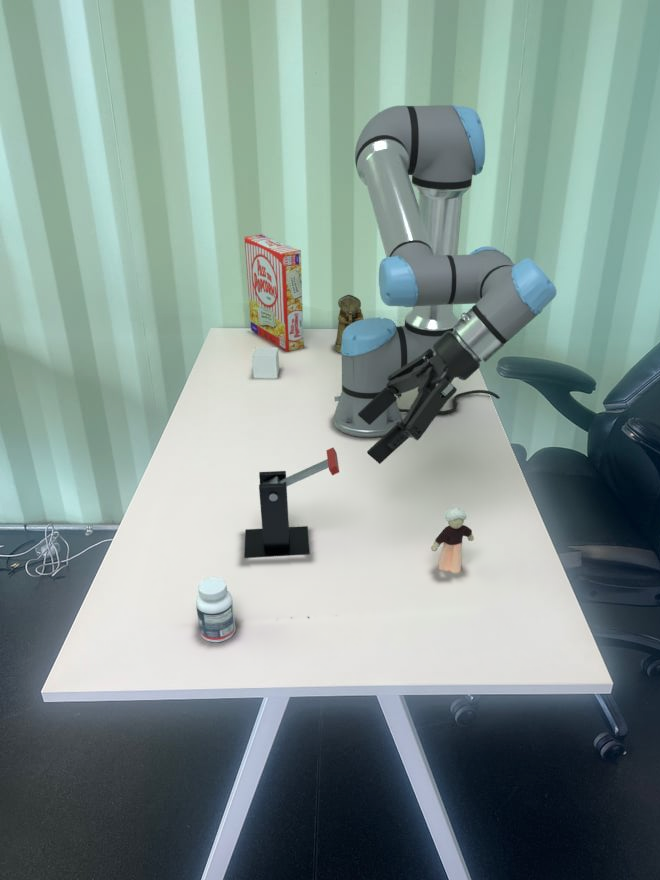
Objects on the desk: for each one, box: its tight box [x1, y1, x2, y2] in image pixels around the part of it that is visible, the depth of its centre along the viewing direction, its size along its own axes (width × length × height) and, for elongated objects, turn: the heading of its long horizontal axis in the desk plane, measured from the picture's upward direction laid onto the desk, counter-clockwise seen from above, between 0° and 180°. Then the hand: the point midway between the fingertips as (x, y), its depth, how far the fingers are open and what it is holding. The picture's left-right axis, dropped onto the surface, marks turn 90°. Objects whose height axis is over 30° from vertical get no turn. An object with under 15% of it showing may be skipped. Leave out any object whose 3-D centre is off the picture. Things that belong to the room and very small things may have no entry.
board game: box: [243, 233, 305, 353], centre depth 210 cm, size 20×6×27 cm, turn 37°
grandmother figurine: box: [430, 506, 475, 574], centre depth 124 cm, size 8×4×13 cm, turn 126°
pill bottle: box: [195, 576, 237, 643], centre depth 111 cm, size 5×5×9 cm
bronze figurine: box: [334, 294, 364, 354], centre depth 206 cm, size 9×14×18 cm, turn 179°
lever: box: [263, 447, 340, 488], centre depth 125 cm, size 13×6×2 cm, turn 97°
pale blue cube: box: [251, 346, 280, 379], centre depth 195 cm, size 6×6×6 cm
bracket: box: [243, 470, 311, 559], centre depth 128 cm, size 11×8×14 cm
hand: (368, 437), depth 123 cm, fingers open, 13 cm apart
